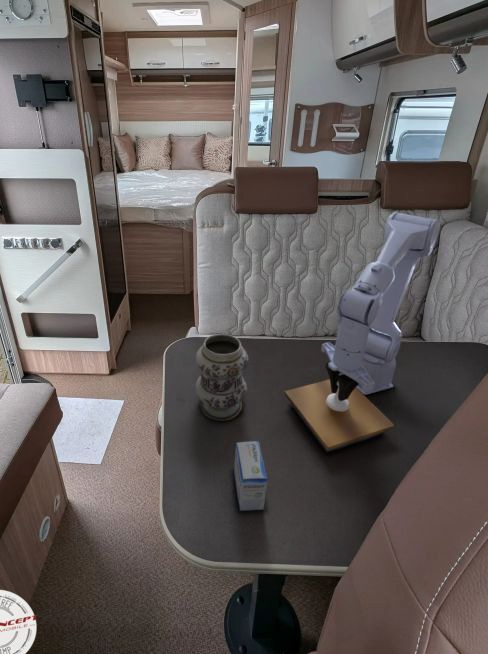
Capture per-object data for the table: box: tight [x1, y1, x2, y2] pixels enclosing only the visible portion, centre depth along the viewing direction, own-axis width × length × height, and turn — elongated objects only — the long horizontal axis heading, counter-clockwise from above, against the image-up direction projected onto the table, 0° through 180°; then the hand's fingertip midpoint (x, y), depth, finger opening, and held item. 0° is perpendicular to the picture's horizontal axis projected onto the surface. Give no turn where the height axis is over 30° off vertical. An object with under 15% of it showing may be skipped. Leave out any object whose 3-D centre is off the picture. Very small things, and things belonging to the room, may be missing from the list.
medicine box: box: [233, 440, 268, 512], centre depth 66 cm, size 8×4×9 cm, turn 5°
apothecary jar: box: [195, 333, 249, 422], centre depth 84 cm, size 12×12×18 cm
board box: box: [283, 378, 396, 454], centre depth 83 cm, size 17×17×4 cm
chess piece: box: [326, 373, 349, 411], centre depth 79 cm, size 5×5×10 cm
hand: (339, 395), depth 80 cm, fingers closed on chess piece
